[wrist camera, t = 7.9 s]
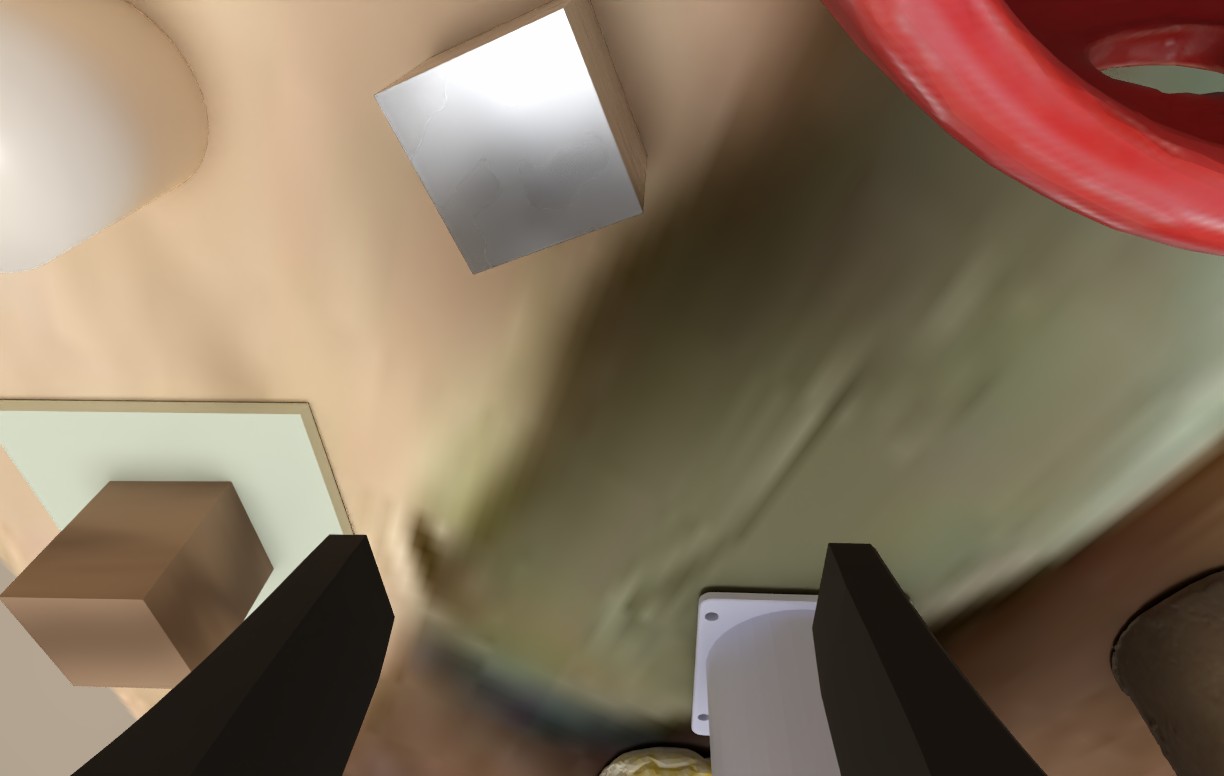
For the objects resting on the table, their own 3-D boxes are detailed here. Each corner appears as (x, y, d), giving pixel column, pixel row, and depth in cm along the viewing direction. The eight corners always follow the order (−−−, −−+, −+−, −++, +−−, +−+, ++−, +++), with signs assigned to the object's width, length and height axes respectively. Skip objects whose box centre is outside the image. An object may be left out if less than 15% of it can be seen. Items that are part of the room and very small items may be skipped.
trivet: (382, 617, 29) (377, 629, 28) (131, 608, 30) (122, 620, 29) (308, 403, 23) (300, 414, 22) (-8, 399, 23) (-23, 410, 23)
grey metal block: (647, 154, 18) (643, 212, 14) (506, 209, 19) (473, 274, 15) (584, -15, 16) (563, 8, 12) (431, 57, 17) (373, 95, 13)
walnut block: (274, 568, 27) (203, 689, 23) (163, 567, 27) (73, 685, 23) (231, 481, 24) (142, 599, 20) (109, 480, 25) (-2, 597, 20)
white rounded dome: (236, 191, 19) (117, 272, 15) (61, 193, 19) (-102, 273, 15) (161, -24, 16) (-12, 3, 12) (-42, -16, 16) (-280, 11, 12)
